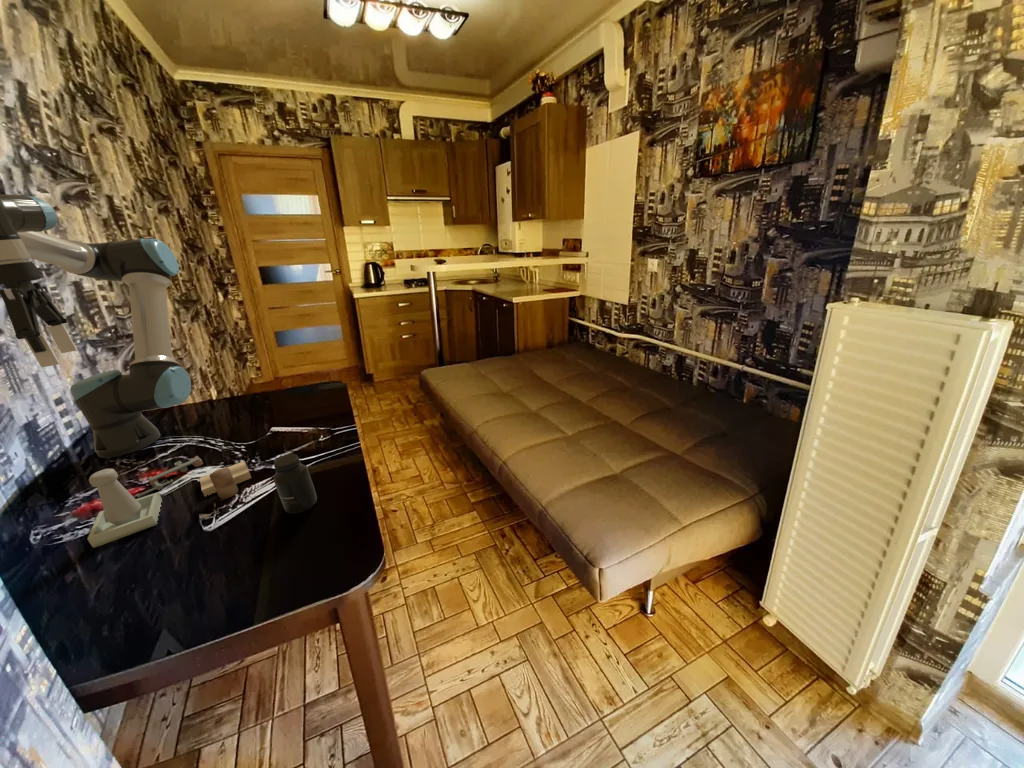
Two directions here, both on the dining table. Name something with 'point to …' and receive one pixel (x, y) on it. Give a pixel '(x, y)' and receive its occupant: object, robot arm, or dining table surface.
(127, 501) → the salt shaker
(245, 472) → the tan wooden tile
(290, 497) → the supplement bottle
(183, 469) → the clamp
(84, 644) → the dining table surface
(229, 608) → the dining table surface
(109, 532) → the tray
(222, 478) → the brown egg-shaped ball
